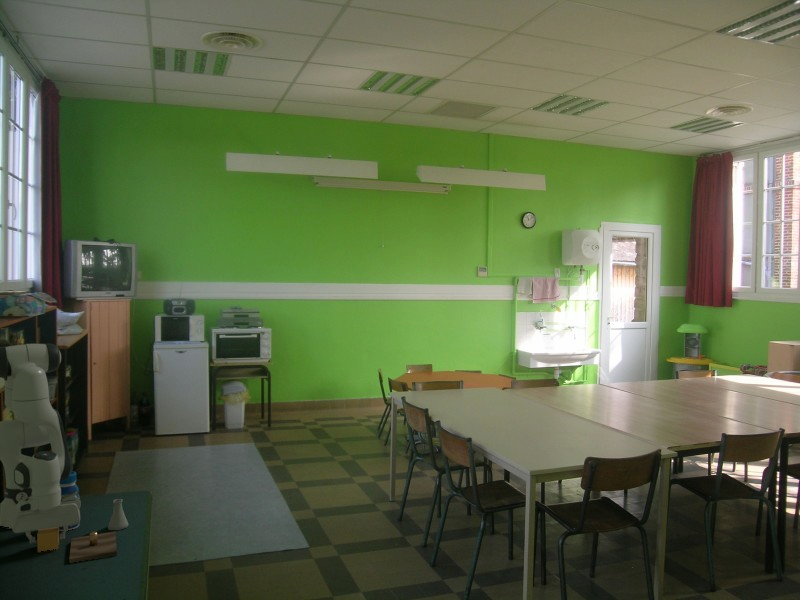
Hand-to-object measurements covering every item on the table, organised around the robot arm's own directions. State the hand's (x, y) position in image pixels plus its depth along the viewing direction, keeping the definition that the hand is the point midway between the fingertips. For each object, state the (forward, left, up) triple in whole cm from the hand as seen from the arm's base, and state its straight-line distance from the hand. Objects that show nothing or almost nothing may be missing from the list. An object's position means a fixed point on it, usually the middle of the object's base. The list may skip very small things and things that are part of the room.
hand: (47, 540), depth 220 cm
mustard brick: (0, 0, -2) cm, 2 cm away
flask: (-10, +22, -3) cm, 24 cm away
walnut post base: (+8, +14, -2) cm, 16 cm away
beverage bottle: (-17, +5, -3) cm, 18 cm away
